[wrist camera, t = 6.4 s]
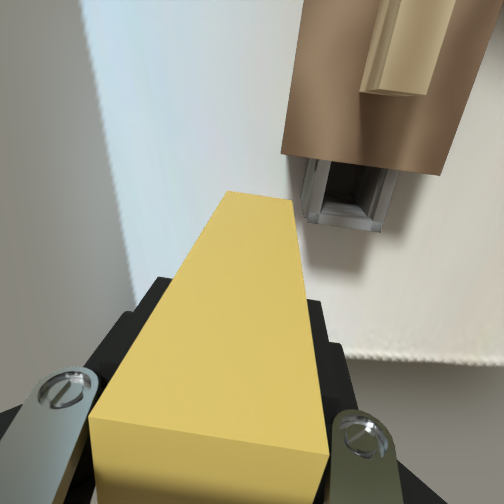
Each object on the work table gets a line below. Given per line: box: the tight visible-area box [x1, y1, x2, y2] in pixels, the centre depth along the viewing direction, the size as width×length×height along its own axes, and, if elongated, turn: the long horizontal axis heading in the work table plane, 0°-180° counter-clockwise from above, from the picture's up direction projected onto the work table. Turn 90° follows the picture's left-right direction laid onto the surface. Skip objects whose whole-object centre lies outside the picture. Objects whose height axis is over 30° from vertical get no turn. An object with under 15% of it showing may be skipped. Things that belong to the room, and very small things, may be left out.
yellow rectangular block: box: [88, 191, 329, 504], centre depth 13 cm, size 4×4×16 cm
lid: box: [281, 0, 504, 233], centre depth 24 cm, size 14×27×8 cm, turn 173°
